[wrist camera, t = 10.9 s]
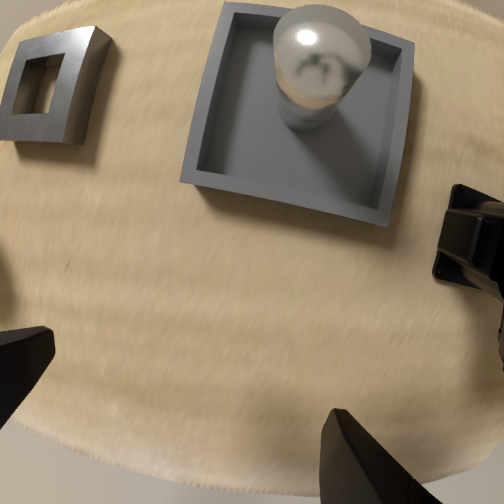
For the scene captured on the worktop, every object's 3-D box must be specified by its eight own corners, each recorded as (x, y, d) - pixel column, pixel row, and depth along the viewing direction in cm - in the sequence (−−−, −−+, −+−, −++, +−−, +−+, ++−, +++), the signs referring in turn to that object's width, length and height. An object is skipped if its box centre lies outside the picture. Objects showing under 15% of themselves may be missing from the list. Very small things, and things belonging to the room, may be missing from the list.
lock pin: (335, 89, 16) (375, 18, 8) (326, 138, 17) (365, 96, 8) (283, 77, 17) (282, -3, 8) (272, 126, 17) (264, 72, 8)
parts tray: (401, 57, 16) (414, 43, 13) (374, 222, 18) (387, 227, 16) (230, 20, 16) (224, 1, 14) (192, 182, 19) (179, 182, 17)
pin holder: (111, 37, 17) (95, 25, 15) (82, 145, 19) (62, 142, 17) (37, 49, 18) (19, 42, 15) (13, 141, 20) (-7, 139, 17)
